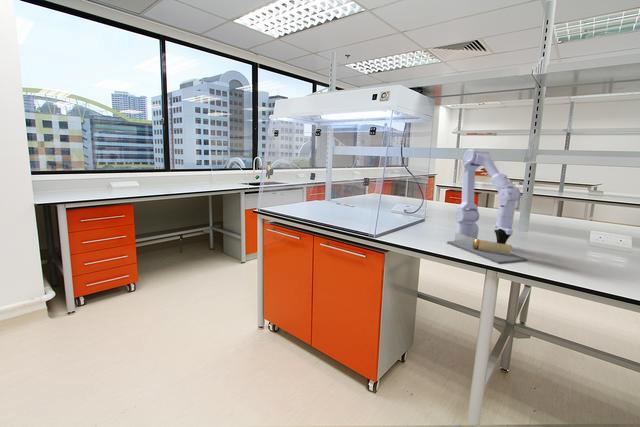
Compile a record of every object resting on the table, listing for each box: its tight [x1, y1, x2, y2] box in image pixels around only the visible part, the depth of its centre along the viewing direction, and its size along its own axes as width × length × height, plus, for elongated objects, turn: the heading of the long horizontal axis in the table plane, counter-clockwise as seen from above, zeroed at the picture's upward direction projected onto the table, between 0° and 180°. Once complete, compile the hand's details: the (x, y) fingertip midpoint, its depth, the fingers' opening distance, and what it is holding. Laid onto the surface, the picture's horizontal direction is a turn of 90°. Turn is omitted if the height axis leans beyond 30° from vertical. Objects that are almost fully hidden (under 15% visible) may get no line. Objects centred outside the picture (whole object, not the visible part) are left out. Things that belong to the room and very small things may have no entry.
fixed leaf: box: [454, 232, 475, 249], centre depth 144 cm, size 1×11×4 cm, turn 21°
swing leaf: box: [474, 238, 513, 255], centre depth 135 cm, size 2×14×4 cm, turn 60°
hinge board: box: [446, 240, 529, 264], centre depth 139 cm, size 16×28×1 cm, turn 20°
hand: (500, 246), depth 136 cm, fingers closed
